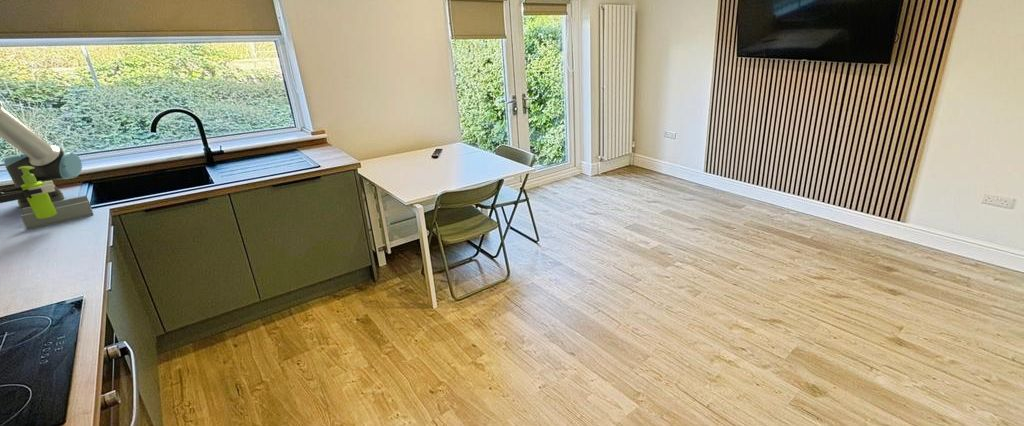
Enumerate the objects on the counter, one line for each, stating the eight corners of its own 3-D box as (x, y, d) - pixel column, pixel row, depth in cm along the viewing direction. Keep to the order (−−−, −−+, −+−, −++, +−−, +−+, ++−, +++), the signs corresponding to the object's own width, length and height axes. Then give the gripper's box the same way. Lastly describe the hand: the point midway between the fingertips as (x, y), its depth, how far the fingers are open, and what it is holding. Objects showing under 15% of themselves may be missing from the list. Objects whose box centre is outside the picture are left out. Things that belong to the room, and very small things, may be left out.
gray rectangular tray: (28, 221, 187) (21, 208, 184) (91, 208, 199) (86, 195, 197) (27, 229, 179) (20, 216, 176) (93, 214, 191) (87, 201, 189)
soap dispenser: (46, 219, 172) (22, 169, 164) (32, 218, 174) (7, 168, 165) (63, 213, 178) (40, 164, 169) (49, 211, 179) (26, 163, 171)
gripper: (-27, 205, 168) (57, 189, 182) (-33, 219, 155) (58, 200, 170) (-37, 186, 165) (49, 171, 179) (-45, 199, 152) (49, 181, 167)
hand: (53, 185), depth 175 cm, fingers closed on soap dispenser, 6 cm apart
